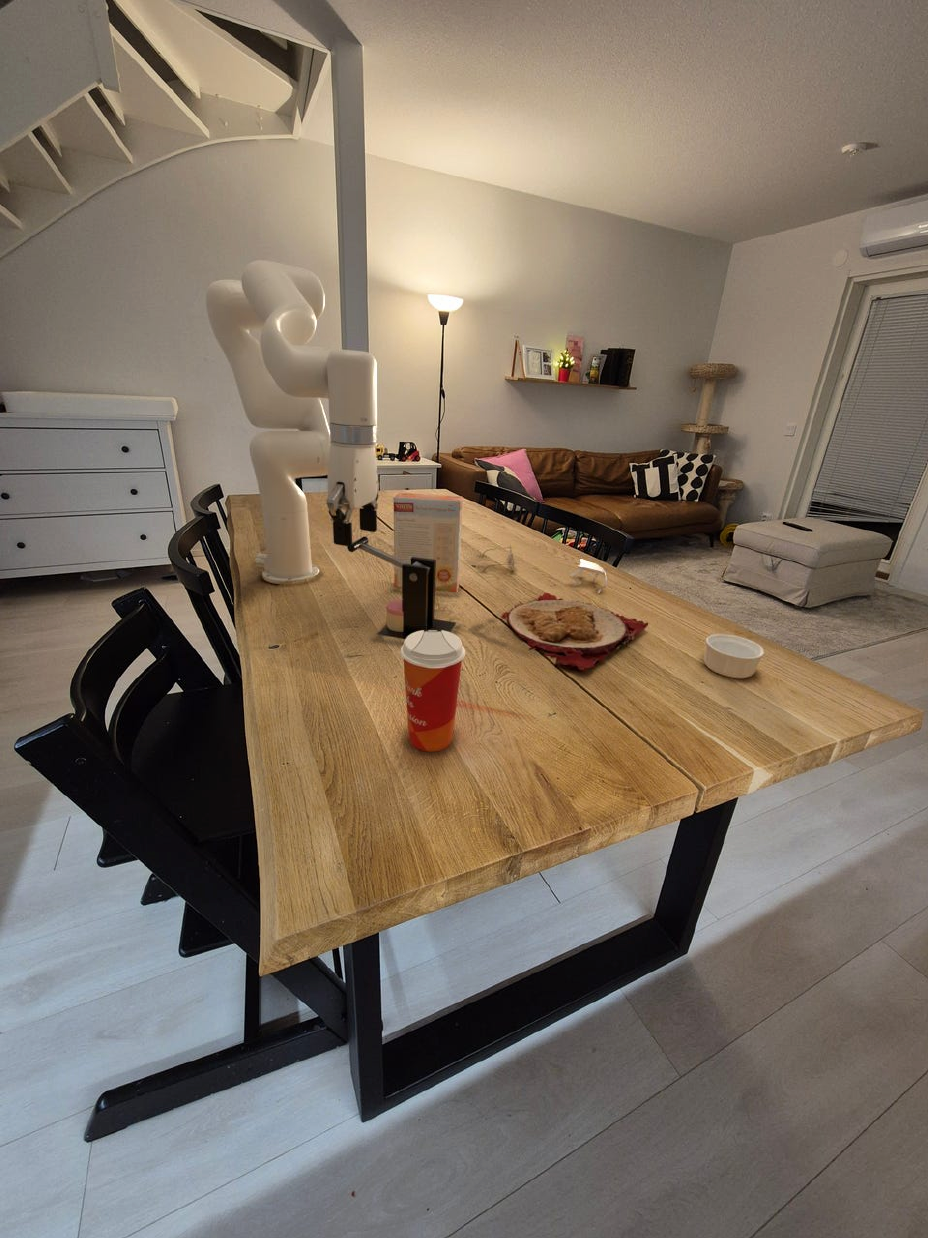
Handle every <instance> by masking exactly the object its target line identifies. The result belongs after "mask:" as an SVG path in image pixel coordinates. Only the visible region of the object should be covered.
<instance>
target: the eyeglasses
mask: <svg viewBox="0 0 928 1238" xmlns="http://www.w3.org/2000/svg"><path fill="white" fill-rule="evenodd" d="M502 549H504V550H505V549H509V554H508V555H507V556H508V560H509V562H508V563H507V562H506V563H501V564H499V566H504V565H511V568H512V572H514V571H515V563H516V562H515V556H514V555H515V554H514V553H513V548H512V545H510V546H507V547H500V548H498V550H502ZM494 550H496V548H492V549H490V551H494ZM488 551H489V549H486V550H485V551H484V552H483V554H482V555H481V557H484V555H485V554H486V552H488ZM495 566H497V564H493V565H487V566H486V567H485V568H484V570H483V571H482V573H484V572H485V571H486V570H487V568H489V567H495Z"/></svg>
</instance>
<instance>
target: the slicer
mask: <svg viewBox="0 0 928 1238" xmlns="http://www.w3.org/2000/svg"><path fill="white" fill-rule="evenodd" d="M416 561H417V562H419V563H421V564H423V565H426V566H420V565H413V564H414V563H415V562H416ZM427 566H428V567H430V570H429V573H428V567H427ZM435 576H436V560H433V559H425V558H418V557H412V558H411V564H405V563H404V564H403V565H402V587H401V600H402V611H403V632H397V631H393V630H390V629H389V628H388V627H387V624H386V625H385V626H383V628H382V629H380V631H379V632H377V635H378V636H384V637H390V638H395V639H401V640H405V639H406V638H407V637H408V636H409V635H410V634H412V633H414V632H417V631H421V630H424V632H428V630H437V632H441V630H443V631H447V632H450V633H452V631H453V630H454V628H455V627H456V626H457V624H458V622H456V621H449V620H445V619H438V618H435V611H436V609H435V608H436V590H435Z"/></svg>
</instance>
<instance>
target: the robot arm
mask: <svg viewBox="0 0 928 1238" xmlns="http://www.w3.org/2000/svg"><path fill="white" fill-rule="evenodd" d="M240 278H241V279H239V280H238V279H218V280H215V281H213V282H211V284H209V285H208V287H207V289H206V294H205V306H206V311H207V316H208V320H209V324H210V328H211V330H212V332H213V334H214V337H215V339H216V341H217V343H218V345H219V346H220V348H221V350H222V352H223V353H224V355H225V357H226V359H227V361H228V363H229V365H230V367H231V370H232V374H233V377H234V382H235V384H236V388H237V391H238V394H239V397H240V400H241V405H242V407H243V410H244V414H245V416H246V418H247V420H248V421H249V423H250V424H251V425H252V426H254V427H256V428H260V429H264V430H265V429H267V430H268V431H262V432H260V433H258V434H255V436H253V437H252V439H251V440H250V443H249V455H250V459H251V464H252V466H253V470H254V474H255V478H256V482H257V487H258V491H259V500H260V506H261V507H260V508H261V515H262V523H263V525H262V526H263V533H264V541H265V549H266V553H257V554H256V555H255V556H256V557H255V558H254V564H255V565H262V566H263V570H262V571H261V577H262V579H263V580H264V581H265V582H268V583H270V584H274V585H281V584H283V583H285V582H293V581H302V580H306V579H310V578H313V577H315V576H317V575H318V574H319V573H320V568H319V567H317V566H316V565H314V564H313V563H312V551H311V537H310V526H309V525H310V523H309V513H308V502H307V497H306V494H305V493H304V492H303V490H301V488H300V487H299V486H298V485H297V483H296V482H295V479H299V478H311V477H323V476H327V498H326V500H325V503H326V506H327V509H328V514H329V516H330V522H332V536H333V544H334V545H337V546H342V547H343V546H344V547H347V546H351V545H352V542H353V522H350V520H351V517H352V514H353V510H357V509H358V510H359V529H360V531H363V532H370V533H375V532H377V530H378V512H377V510H378V507H379V506H378V505H379V504H378V499H379V489H380V482H379V481H378V464H377V463H378V462H377V454H376V448H377V447H378V400H377V399H378V397H377V396H378V386H377V385H378V380H377V377H378V374H377V373H378V371H377V370H378V369H377V368H378V367H377V359H376V358H375V356H374V355H373V354H372V353H370V352H367V351H362V350H353V349H338V348H330V347H329V348H328V347H320V346H312V345H307V344H308V343H309V342H310V341H311V340H312V339H313V337H314V335H315V333H316V330H317V321H318V320H319V319H320V317H321V316H322V315H323V312H324V309H325V303H326V299H325V290H324V288H323V285H322V282H321V280H320V279H319V277H318V276H317V275H316V274H315V273H314V272H313V271H311V270H310V269H308V268H305V267H300V266H295V265H291V264H286V263H281V262H278V261H272V260H265V259H263V260H262V259H261V260H260V259H259V260H254V261H251V262H249V263H247V265H246V266H245V267H244V268H243V270H242V272H241V277H240ZM250 332H256V333H257V332H258V333H260V338H259V339H260V340H257V339H256V338H255V337H254V336H253V335H251V333H250ZM321 399H328V419H329V424H328V421H327V418H326V417H327V416H326V414H325V410H324V406H323V404H322V401H321ZM285 429H286V430H285ZM343 510H344V511H345V512H343Z"/></svg>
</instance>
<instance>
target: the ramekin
mask: <svg viewBox="0 0 928 1238" xmlns="http://www.w3.org/2000/svg"><path fill="white" fill-rule="evenodd" d="M764 654H765V650H764V648H763V647H762V646H761V645H759V644H758V643H757V642H755V641H753V640H750V639H748V638H745V637H742V636H739V635H733V634H727V633H717V634H711V635H709V636H707V637H706V639H705V649H704V655H703V662H704V664H705V666H706V667H707V668H708V669H709V670H711V671H712V672H714V673H716V674H719V675H720V676H723V677H728V678H734V679H747V678H750V677H752V676H753V675H754V674H755V672H756V670H757V668H758V665H759V664H760V661H761V659H762V658H763V657H764Z"/></svg>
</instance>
